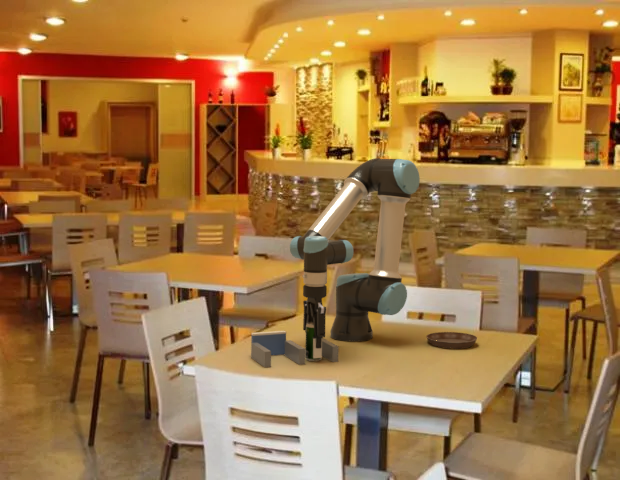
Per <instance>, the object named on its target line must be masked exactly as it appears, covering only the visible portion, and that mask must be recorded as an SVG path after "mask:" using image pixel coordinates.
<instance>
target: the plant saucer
mask: <svg viewBox="0 0 620 480" xmlns="http://www.w3.org/2000/svg"><path fill="white" fill-rule="evenodd" d="M426 339H427V341H428V342H429V343H430V344H431V345H432V346H434V347H436V346H438V347H437V348H441V347H444V348H443V349H449V348H453V350H455V349H457V350H459V349H467V348H470V347H472V346H473V345H474V344H475V343H476V342H477V340H478V336H476V335H474V334H470V333H466V332H465V333H464V332H457V331H456V332H455V331H442V332H441V331H440V332H431V333H429V334H427V335H426ZM436 340H437V341H436Z"/></svg>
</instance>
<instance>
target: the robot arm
mask: <svg viewBox="0 0 620 480" xmlns="http://www.w3.org/2000/svg"><path fill="white" fill-rule="evenodd" d="M420 179H421V178H420V173H419V170H418V167H417V166H416V164H415V163H414V162H413V161H411V160H408V159H402V158H378V157H376V158H371V159H369V160H367V161H365V162H363V163H361V164H360V165H358V166H357V167H356V168H354V170H353V171H352V172H350V174H349V175H348V176H347V177H346V178H345V180H344V181H343V186H342V187H341V189H339V191H338V193H336V195H335V196H334V197H333V198H332V200H331V201H330V202H329V204H328V205H327V206H326V207H325V209H324V210H323V211H322V212H321V213H320V215H319V216H318V217H317V219H315V221H314V222H313V224H312V225H311V226H310V227H309V229H308V230H307V231H306V232H305V233H304V234H303V236H302V235H298V236H295V237H293V238H292V239H291V241H290V243H289V252H290V255H291V256H292V257H294V258H296V259H300V260H303V274H302V279H303V282H302V283H303V286H302V295H303V297H304V298H307V299H306V300H303V301H302V302H303V321H302V323H303V327H302V329H303V331H304V332H305V334H306V325H307V322H313V324H314V335H315V337H313V358H321V359H322V358H323V356H322V338H325V337H326V312H327V306H323V305H324V304H323V300H322V299H323V298H324V299H325V298H326V297H327V289H328V288H327V285H326V284H328V265H329V266H330V265H336V264H337V265H338V264H345V263H347V262H350V261H351V260H352V259H353V258H354V257H353V256H354V247H353V245H352V243H351V242H350V241H349V240H347V239H338V240H334V239H331V237H333V235H334V233H335V232H336V231H337V229H338V228H340V226H341V225H342V224H343V222H345V219H347V217H348V216H349V215H350V213H351V212H352V211H353V209H354V208H355V207H356V206H357V205H358V203H359V202H360V201H361V200H364V199H365V198H367V197H368V196H369V194H371V193H373V192H377V193H376V194H377V195H376V196H377V197H378V199H379V200H380V209H379V216H378V217H379V218H378V226H377V234H376V235H377V237H376V243H375V244H376V245H375V254H374V264H373V269H372V270H371V271H370V272H368V273H367V272H363V273H362V272H360V273H359V272H358V273H357V272H355V273H346V274H340V275H338V276H337V278H336V286H335V287H336V288H335V316H334V320H333V323H332V326H331V329H330V338H331V339H334V340H338V341H341V342H342V341H344V342H364V341H370V340H371V339H373V333H374V332H373V329H372V324H371V322H370V318H369V312H370V313H373V314H374V313H375V314H380V315H382V316H384V315H385V316H394V315H397V314H399V313H400V312H401V310H402V309H403V308H404V307H405V304H406V302H407V299H408V290H407V287H406V285H405V284H403V282H402V279H403V277H402V276H401V274H400V273H399V266H400V259H401V258H400V257H401V250H402V249H401V248H402V242H403V241H402V240H403V233H404V232H403V229H404V223H405V222H404V221H405V213H406V212H405V211H406V204H407V203H408V202H409V201H410V200H411V198H412V195H413V194H415V193H416V192H417V191H418V189H419V186H420Z"/></svg>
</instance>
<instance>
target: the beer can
mask: <svg viewBox="0 0 620 480" xmlns="http://www.w3.org/2000/svg"><path fill="white" fill-rule="evenodd" d="M313 337H315V335H314V324H313V322H307V325H306V333H305V345H304V346H305V347H304V348H305V361H308V362H320V361H321V360H322V358H313Z"/></svg>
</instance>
